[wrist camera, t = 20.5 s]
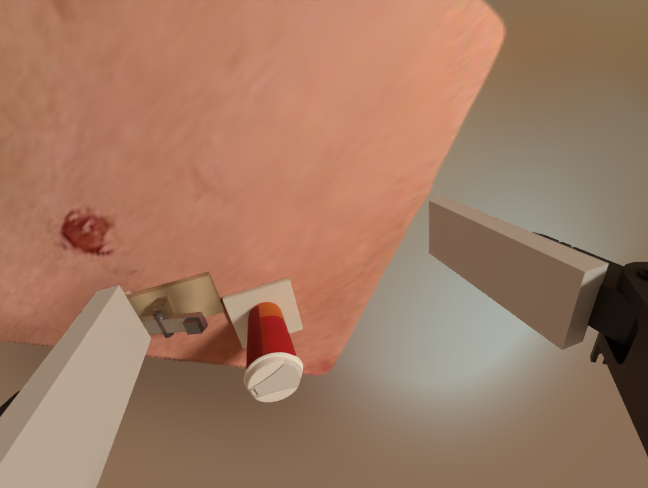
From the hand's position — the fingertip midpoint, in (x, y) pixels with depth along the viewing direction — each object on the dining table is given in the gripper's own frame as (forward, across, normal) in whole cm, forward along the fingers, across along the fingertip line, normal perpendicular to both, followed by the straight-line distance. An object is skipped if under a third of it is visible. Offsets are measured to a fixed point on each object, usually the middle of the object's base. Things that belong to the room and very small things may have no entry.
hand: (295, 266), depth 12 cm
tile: (+31, -5, -25) cm, 40 cm away
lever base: (+31, -18, -18) cm, 40 cm away
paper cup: (+30, -5, -25) cm, 39 cm away
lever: (+26, -18, -18) cm, 36 cm away
